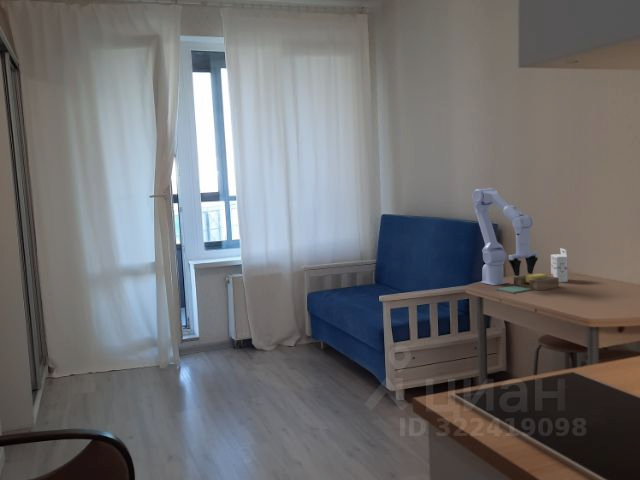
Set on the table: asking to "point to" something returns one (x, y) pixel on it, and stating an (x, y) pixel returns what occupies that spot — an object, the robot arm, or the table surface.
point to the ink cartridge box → (559, 266)
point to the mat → (513, 289)
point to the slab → (534, 276)
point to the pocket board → (536, 282)
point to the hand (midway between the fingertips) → (523, 274)
